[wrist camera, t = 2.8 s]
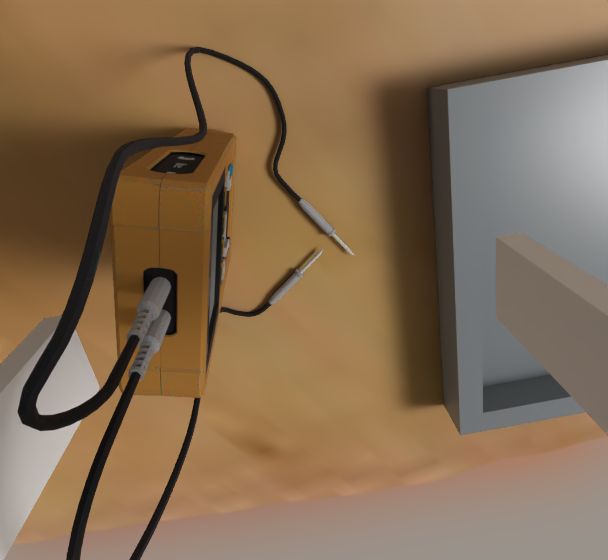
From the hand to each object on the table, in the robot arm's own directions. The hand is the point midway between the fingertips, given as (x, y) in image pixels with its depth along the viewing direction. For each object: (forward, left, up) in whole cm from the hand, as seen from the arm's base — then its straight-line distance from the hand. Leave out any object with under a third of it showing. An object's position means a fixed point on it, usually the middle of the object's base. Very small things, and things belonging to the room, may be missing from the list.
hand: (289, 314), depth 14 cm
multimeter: (0, 0, -13) cm, 13 cm away
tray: (+18, -6, -13) cm, 23 cm away
